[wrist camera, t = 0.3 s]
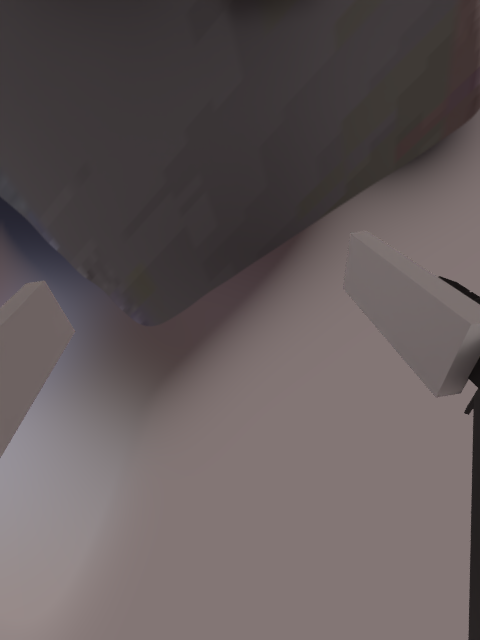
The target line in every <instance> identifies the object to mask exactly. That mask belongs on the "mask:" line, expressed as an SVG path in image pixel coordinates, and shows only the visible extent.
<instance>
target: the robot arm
mask: <svg viewBox="0 0 480 640" xmlns="http://www.w3.org/2000/svg"><path fill="white" fill-rule="evenodd" d="M343 289H344V290H345V291H346V292H347V293H348V295H349V296H350V297H351V298H352V299H353V300H354V302H355V303H356V304H357V305H358V306H359V308H360V309H361V310H362V311H363V312H364V313H365V315H366V316H367V317H368V318H369V319H370V321H371V322H372V323H373V324H374V325H375V326H376V327H377V329H378V330H379V331H380V332H381V333H382V335H383V336H384V337H385V338H386V339H387V340H388V342H389V343H390V344H391V345H392V346H393V347H394V349H395V350H396V351H397V352H398V353H399V355H400V356H401V357H402V358H403V359H404V360H405V362H406V363H407V364H408V365H409V366H410V368H411V369H412V370H413V371H414V372H415V373H416V375H417V376H418V377H419V378H420V379H421V380H422V382H423V383H424V384H425V385H426V386H427V388H428V389H429V390H430V391H431V392H432V393H433V395H434V396H435V397H441V396H447V395H453V394H459V393H461V392H462V390H463V388H464V386H465V384H466V383H467V381H468V379H470V380H471V381H472V382H473V383H474V384H475V385H476V386H477V387H478V390H477V391H476V393H475V395H474V396H473V398H472V400H471V401H470V403H469V404H468V406H467V408H466V410H465V412H464V413H465V414H468V415H469V413H470V412H471V410H472V409H474V416H473V417H474V419H473V462H472V465H473V466H472V507H471V508H472V509H471V554H470V556H471V557H470V600H469V601H470V602H469V640H480V297H479V296H477V295H476V294H474V293H473V292H469V290H468V289H466V288H465V287H463V286H462V285H460V284H459V283H457V282H454V281H452V280H449V279H446V278H443V277H440V276H439V277H437V276H436V275H434V274H432V273H431V272H430V271H428V270H426V269H425V268H423V267H422V266H420V265H419V264H417V263H416V262H414V261H413V260H411V259H410V258H408V257H407V256H405V255H404V254H402V253H401V252H399V251H398V250H396V249H395V248H393V247H392V246H390V245H389V244H387V243H386V242H384V241H383V240H381V239H379V238H378V237H376V236H375V235H373V234H372V233H370V232H369V231H361V232H355V233H350V238H349V246H348V254H347V262H346V270H345V278H344V286H343ZM74 333H75V330H74V329H73V327H72V325H71V324H70V322H69V320H68V319H67V317H66V315H65V314H64V312H63V311H62V309H61V307H60V306H59V304H58V302H57V301H56V299H55V297H54V296H53V294H52V292H51V291H50V289H49V287H48V286H47V284H46V282H45V281H39V282H33V283H27V284H25V285H24V286H23V287H22V288H21V289H20V290H19V291H18V292H17V293H16V294H15V295H13V296H12V297H11V298H10V299H9V300H8V301H7V302H6V303H5V304H4V305H3V306H2V307H1V308H0V458H1V456H2V454H3V453H4V451H5V449H6V448H7V446H8V444H9V443H10V441H11V439H12V437H13V436H14V434H15V432H16V430H17V429H18V427H19V425H20V424H21V422H22V421H23V419H24V417H25V415H26V414H27V412H28V410H29V409H30V407H31V405H32V404H33V402H34V400H35V399H36V397H37V395H38V394H39V392H40V390H41V388H42V387H43V385H44V383H45V382H46V379H47V378H48V377H49V375H50V373H51V371H52V370H53V368H54V366H55V365H56V363H57V361H58V360H59V358H60V356H61V355H62V353H63V351H64V350H65V348H66V346H67V345H68V343H69V341H70V339H71V338H72V336H73V334H74Z"/></svg>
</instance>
